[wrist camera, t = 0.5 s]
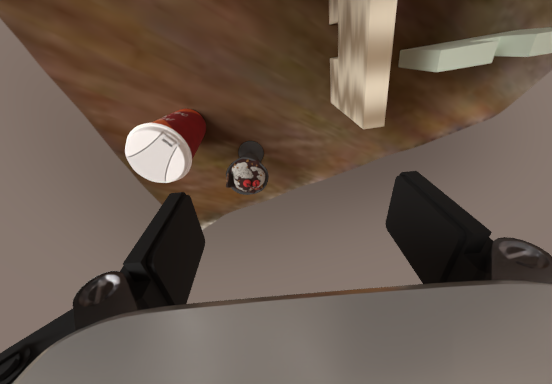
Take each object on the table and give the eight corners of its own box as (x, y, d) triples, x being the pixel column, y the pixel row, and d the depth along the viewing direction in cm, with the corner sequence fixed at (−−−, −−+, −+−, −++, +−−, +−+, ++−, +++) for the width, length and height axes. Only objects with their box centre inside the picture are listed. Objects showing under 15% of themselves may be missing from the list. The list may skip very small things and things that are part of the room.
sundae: (274, 148, 44) (277, 188, 32) (255, 173, 47) (251, 219, 34) (246, 129, 42) (237, 163, 29) (227, 156, 45) (212, 198, 32)
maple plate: (327, -38, 30) (376, -107, 17) (345, -41, 30) (409, -114, 17) (330, 102, 40) (363, 129, 26) (344, 100, 40) (384, 126, 26)
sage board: (400, 50, 36) (441, 50, 28) (518, 29, 35) (597, 23, 27) (398, 67, 37) (436, 72, 29) (511, 47, 36) (585, 47, 28)
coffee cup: (182, 90, 38) (139, 111, 26) (221, 124, 41) (201, 157, 29) (157, 126, 41) (108, 160, 29) (195, 155, 45) (167, 197, 32)
